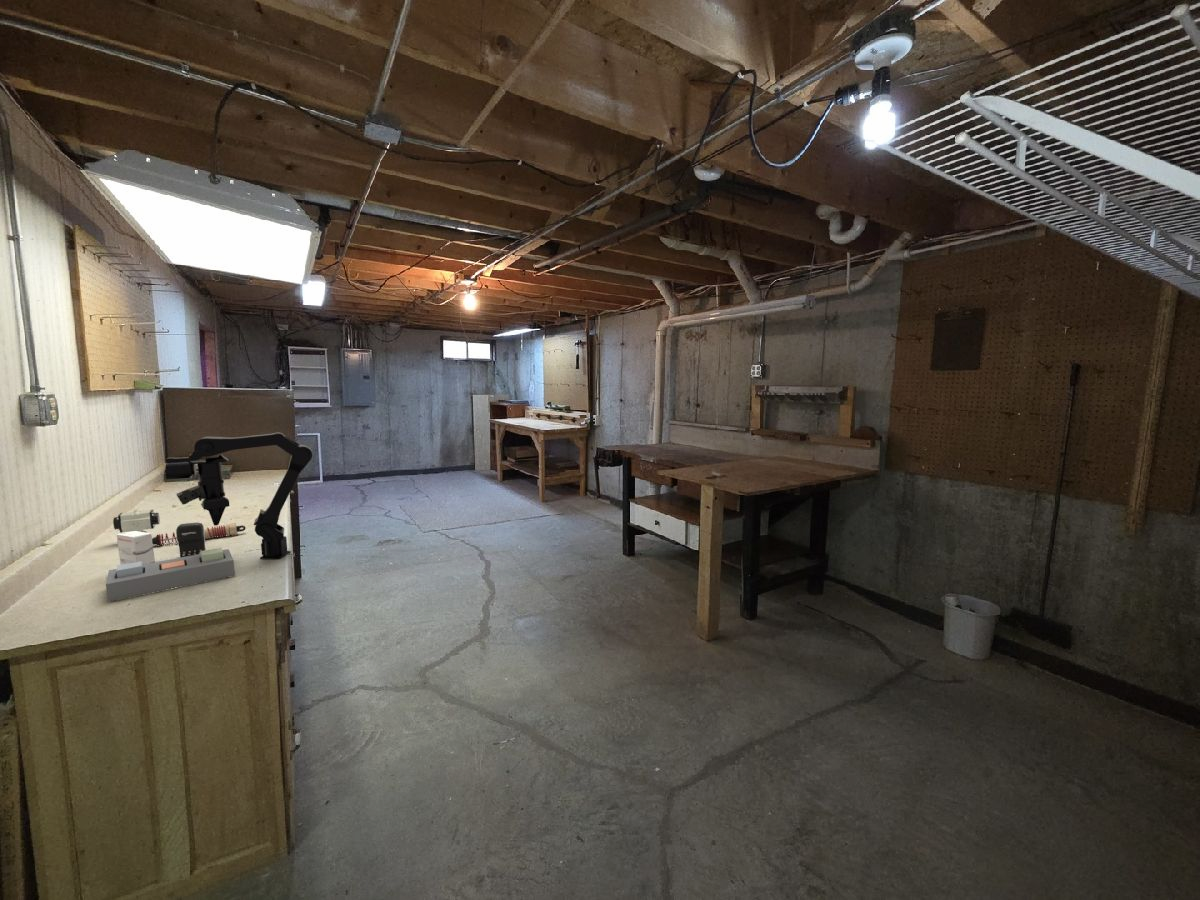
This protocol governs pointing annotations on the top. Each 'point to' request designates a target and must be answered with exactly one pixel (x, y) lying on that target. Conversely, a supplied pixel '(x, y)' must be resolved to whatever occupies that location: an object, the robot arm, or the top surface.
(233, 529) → the shock absorber
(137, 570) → the slate button
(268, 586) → the top surface
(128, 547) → the ink box
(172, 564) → the terracotta button
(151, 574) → the button panel
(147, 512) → the pneumatic valve
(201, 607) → the top surface
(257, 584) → the top surface
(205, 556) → the sage button
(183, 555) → the battery charger
